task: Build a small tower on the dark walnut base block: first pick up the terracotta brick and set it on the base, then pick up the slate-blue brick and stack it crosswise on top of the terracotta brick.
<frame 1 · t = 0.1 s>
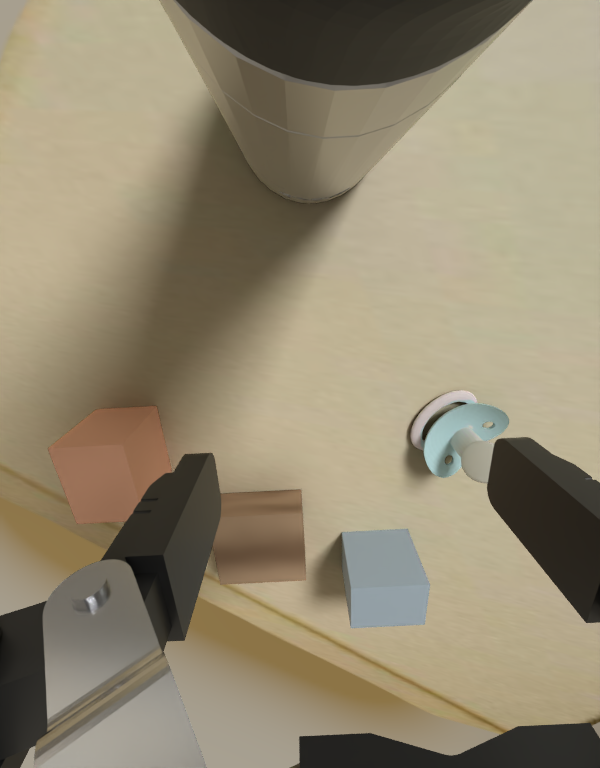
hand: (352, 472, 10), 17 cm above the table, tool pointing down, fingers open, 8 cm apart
brick terracotta: (136, 440, 29), on the table
base block: (262, 524, 33), on the table
pacifier: (446, 422, 29), on the table
brick slate: (373, 548, 34), on the table
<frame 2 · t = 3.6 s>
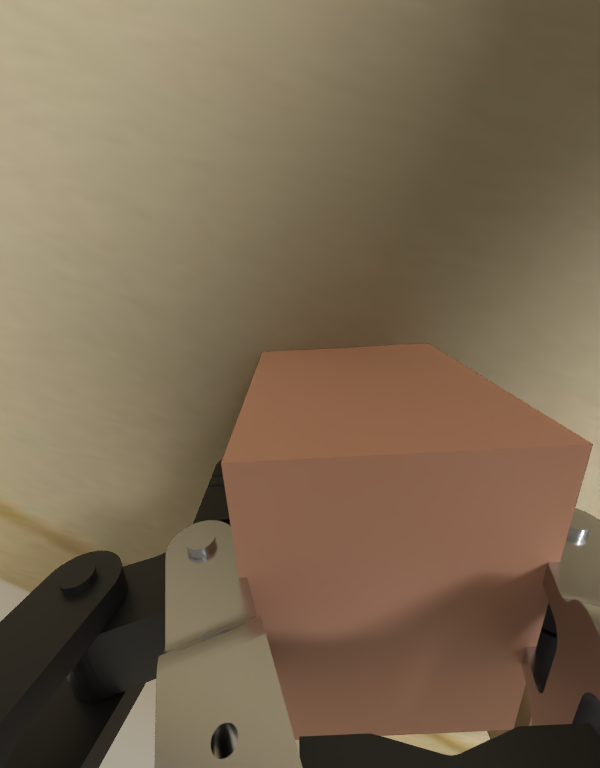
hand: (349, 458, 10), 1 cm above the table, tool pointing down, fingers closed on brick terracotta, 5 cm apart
brick terracotta: (345, 442, 11), on the table, touching gripper
base block: (575, 632, 15), on the table
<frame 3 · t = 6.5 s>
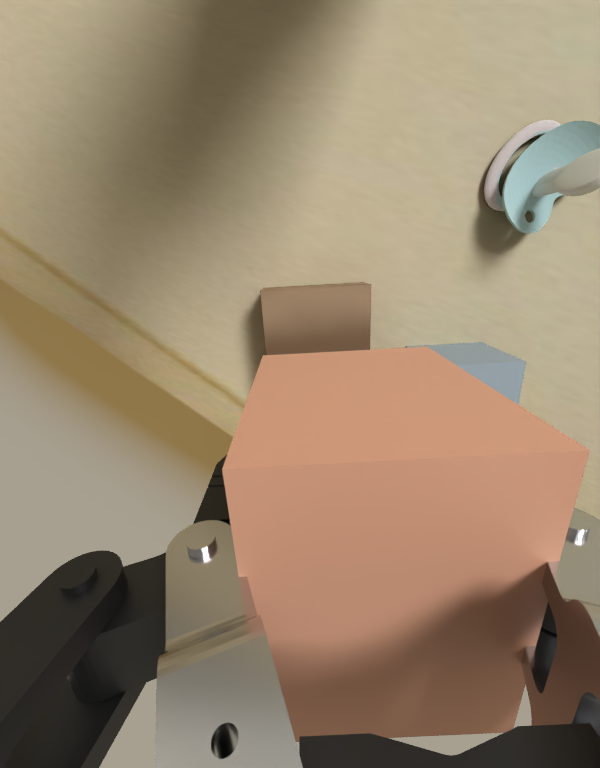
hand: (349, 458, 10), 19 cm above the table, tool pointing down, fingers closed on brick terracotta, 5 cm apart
brick terracotta: (345, 444, 11), point 18 cm above the table, touching gripper
base block: (315, 334, 28), on the table
pacifier: (524, 177, 25), on the table
brick slate: (440, 371, 30), on the table
when the fingers open (5 cm above the table, at t = 9.4 s): brick terracotta drops 1 cm, resting on base block.
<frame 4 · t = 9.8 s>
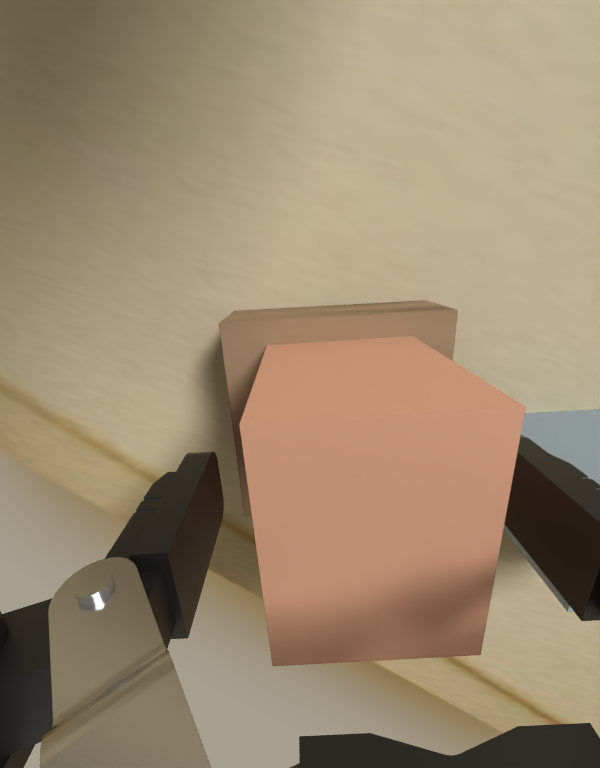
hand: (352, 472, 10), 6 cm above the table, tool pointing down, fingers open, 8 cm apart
brick terracotta: (341, 425, 13), point 3 cm above the table, touching base block
base block: (331, 394, 15), on the table
brick slate: (552, 456, 17), on the table
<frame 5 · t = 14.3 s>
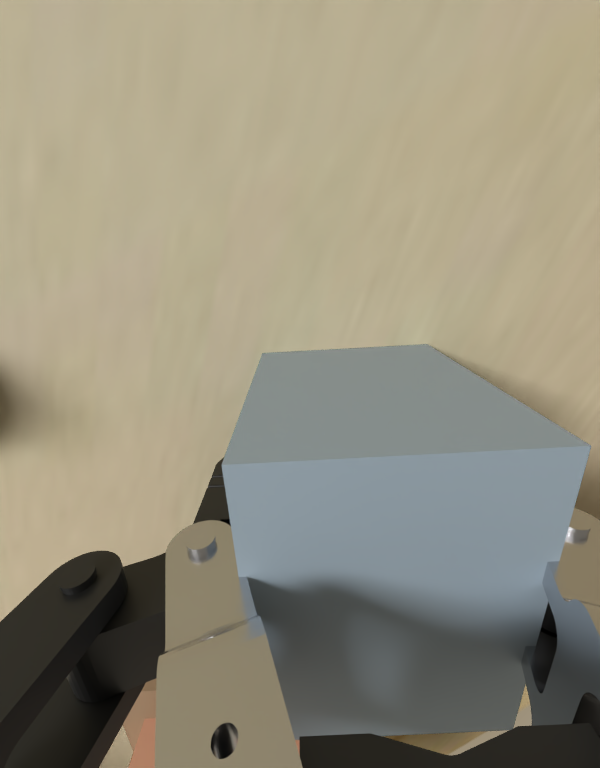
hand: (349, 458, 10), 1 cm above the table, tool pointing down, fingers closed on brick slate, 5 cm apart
brick terracotta: (248, 755, 12), point 3 cm above the table, touching base block
base block: (256, 663, 15), on the table
brick slate: (345, 442, 11), on the table, touching gripper
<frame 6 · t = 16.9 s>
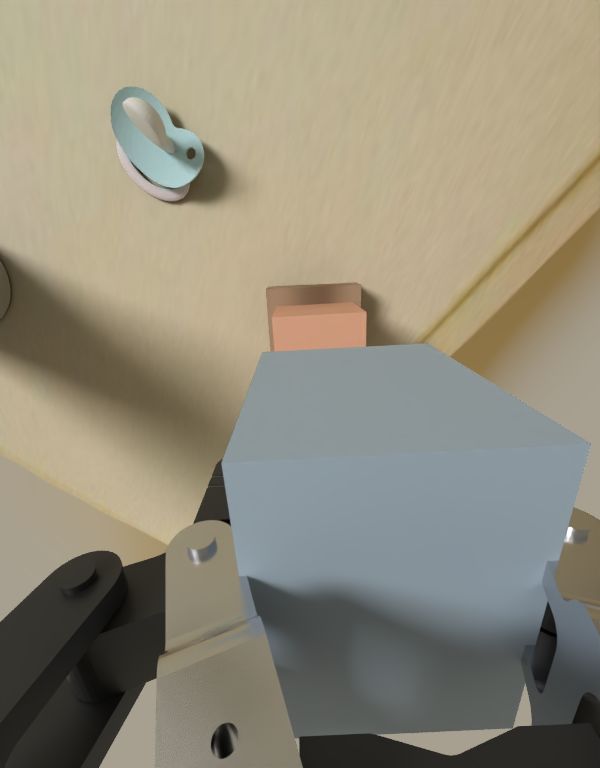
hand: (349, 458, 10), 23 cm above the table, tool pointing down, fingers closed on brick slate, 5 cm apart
brick terracotta: (315, 333, 29), point 3 cm above the table, touching base block
base block: (313, 327, 32), on the table
pacifier: (162, 157, 28), on the table
brick slate: (345, 441, 11), point 22 cm above the table, touching gripper
when the fingers open (11 cm above the table, at t = 19.6 s): brick slate drops 1 cm, resting on brick terracotta.
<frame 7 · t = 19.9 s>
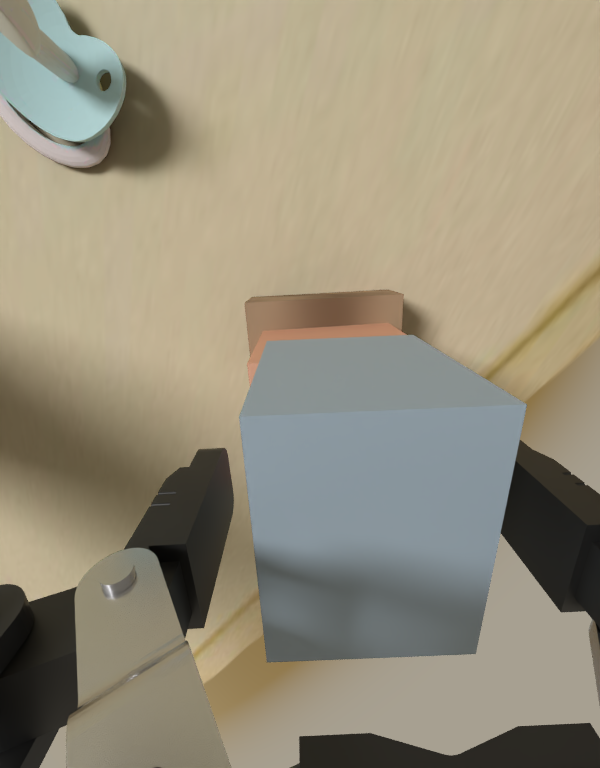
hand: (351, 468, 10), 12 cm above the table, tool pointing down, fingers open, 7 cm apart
brick terracotta: (327, 372, 18), point 3 cm above the table, touching base block, brick slate
base block: (321, 359, 21), on the table
pacifier: (64, 94, 17), on the table
brick slate: (340, 423, 13), point 9 cm above the table, touching brick terracotta
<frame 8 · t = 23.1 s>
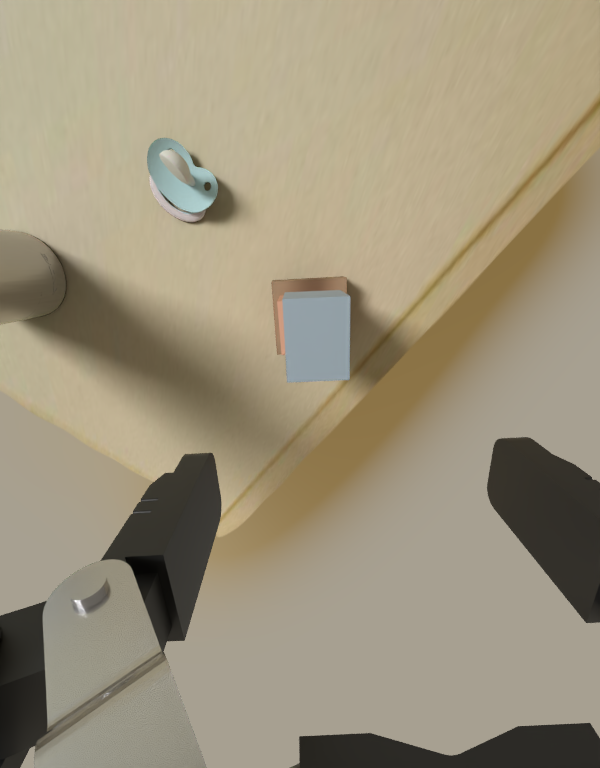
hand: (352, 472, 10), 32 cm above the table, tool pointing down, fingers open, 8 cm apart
base block: (309, 313, 40), on the table
pacifier: (184, 188, 36), on the table
brick slate: (313, 327, 31), point 9 cm above the table, touching brick terracotta
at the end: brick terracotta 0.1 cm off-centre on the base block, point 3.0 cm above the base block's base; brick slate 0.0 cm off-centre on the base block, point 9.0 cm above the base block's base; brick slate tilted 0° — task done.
